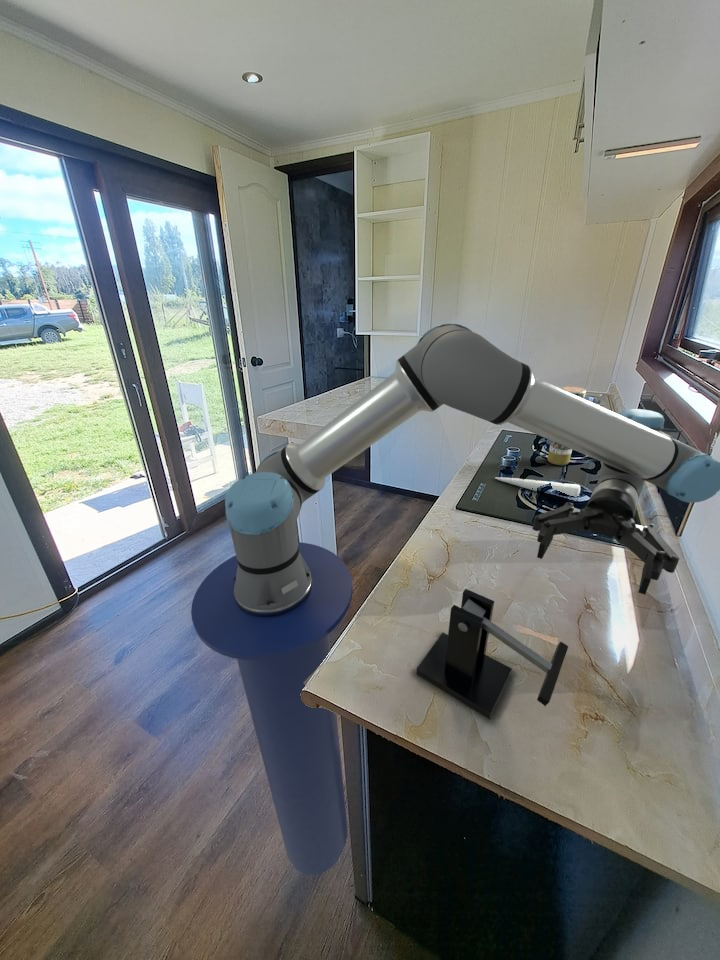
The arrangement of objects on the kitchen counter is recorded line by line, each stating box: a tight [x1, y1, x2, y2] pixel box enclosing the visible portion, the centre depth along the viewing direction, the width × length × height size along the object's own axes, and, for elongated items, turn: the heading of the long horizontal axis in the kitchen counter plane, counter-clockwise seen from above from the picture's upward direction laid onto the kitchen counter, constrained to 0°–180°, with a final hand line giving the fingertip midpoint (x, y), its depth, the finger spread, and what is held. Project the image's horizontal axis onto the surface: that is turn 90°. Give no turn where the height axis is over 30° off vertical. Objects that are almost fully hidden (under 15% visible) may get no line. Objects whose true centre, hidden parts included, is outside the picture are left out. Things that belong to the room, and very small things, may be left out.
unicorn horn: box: [494, 477, 581, 497], centre depth 113 cm, size 5×24×5 cm, turn 48°
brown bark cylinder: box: [547, 386, 587, 466], centre depth 125 cm, size 7×7×25 cm
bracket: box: [415, 588, 513, 720], centre depth 58 cm, size 12×9×15 cm
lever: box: [462, 599, 569, 707], centre depth 53 cm, size 14×10×2 cm
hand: (589, 567), depth 57 cm, fingers open, 13 cm apart
